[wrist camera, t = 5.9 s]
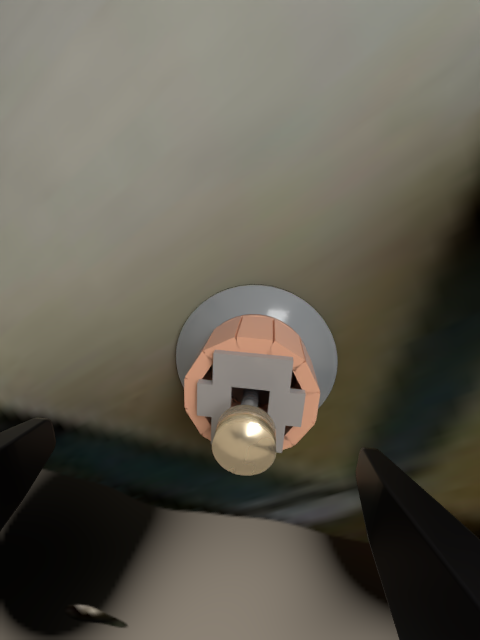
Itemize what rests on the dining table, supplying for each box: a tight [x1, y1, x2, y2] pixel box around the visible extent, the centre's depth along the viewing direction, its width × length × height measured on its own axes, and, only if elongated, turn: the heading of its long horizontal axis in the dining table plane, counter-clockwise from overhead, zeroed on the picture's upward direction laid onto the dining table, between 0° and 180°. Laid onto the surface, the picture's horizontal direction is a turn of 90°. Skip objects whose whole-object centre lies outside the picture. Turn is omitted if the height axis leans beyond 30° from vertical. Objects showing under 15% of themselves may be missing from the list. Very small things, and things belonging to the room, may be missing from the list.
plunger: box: [212, 387, 276, 475], centre depth 17 cm, size 5×5×8 cm
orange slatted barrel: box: [184, 314, 320, 453], centre depth 20 cm, size 10×8×5 cm
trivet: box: [176, 284, 337, 408], centre depth 22 cm, size 12×12×1 cm
